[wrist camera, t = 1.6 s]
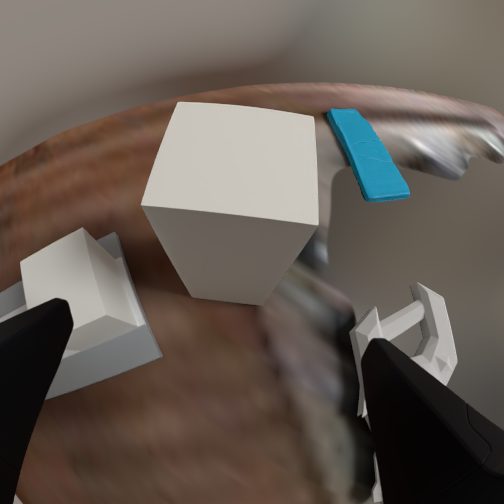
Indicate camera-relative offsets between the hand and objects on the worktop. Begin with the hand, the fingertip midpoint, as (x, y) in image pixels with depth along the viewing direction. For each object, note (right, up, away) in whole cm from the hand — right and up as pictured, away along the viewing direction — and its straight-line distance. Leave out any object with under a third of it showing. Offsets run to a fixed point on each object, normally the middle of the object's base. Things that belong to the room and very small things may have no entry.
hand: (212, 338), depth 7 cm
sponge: (+13, +12, +19) cm, 26 cm away
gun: (+13, -10, +11) cm, 20 cm away
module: (-1, +1, +13) cm, 13 cm away
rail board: (-16, -5, +10) cm, 19 cm away
